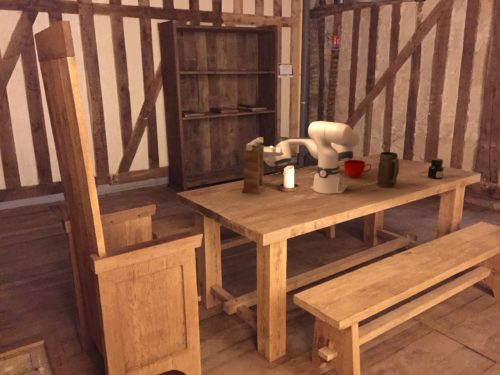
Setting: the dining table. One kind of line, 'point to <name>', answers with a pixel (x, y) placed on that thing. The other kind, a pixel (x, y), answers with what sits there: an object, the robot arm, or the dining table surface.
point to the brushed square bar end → (254, 143)
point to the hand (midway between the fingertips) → (263, 146)
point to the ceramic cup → (355, 168)
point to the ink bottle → (436, 169)
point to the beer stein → (387, 170)
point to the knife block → (253, 169)
